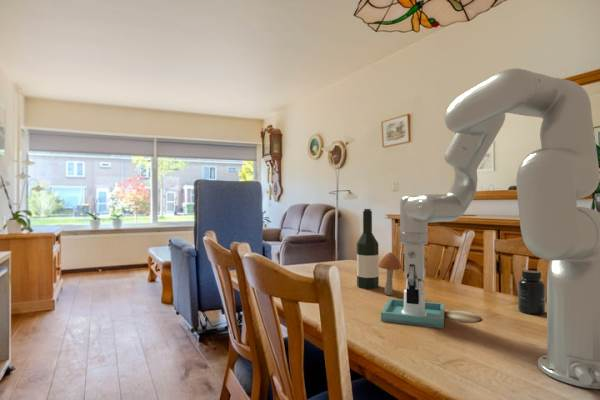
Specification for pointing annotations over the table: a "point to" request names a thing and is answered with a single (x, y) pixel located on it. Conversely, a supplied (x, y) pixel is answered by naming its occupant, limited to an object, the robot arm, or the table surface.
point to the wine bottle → (367, 255)
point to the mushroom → (389, 270)
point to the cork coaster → (463, 316)
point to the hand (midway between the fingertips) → (414, 299)
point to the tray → (432, 319)
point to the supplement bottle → (531, 293)
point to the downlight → (415, 308)
